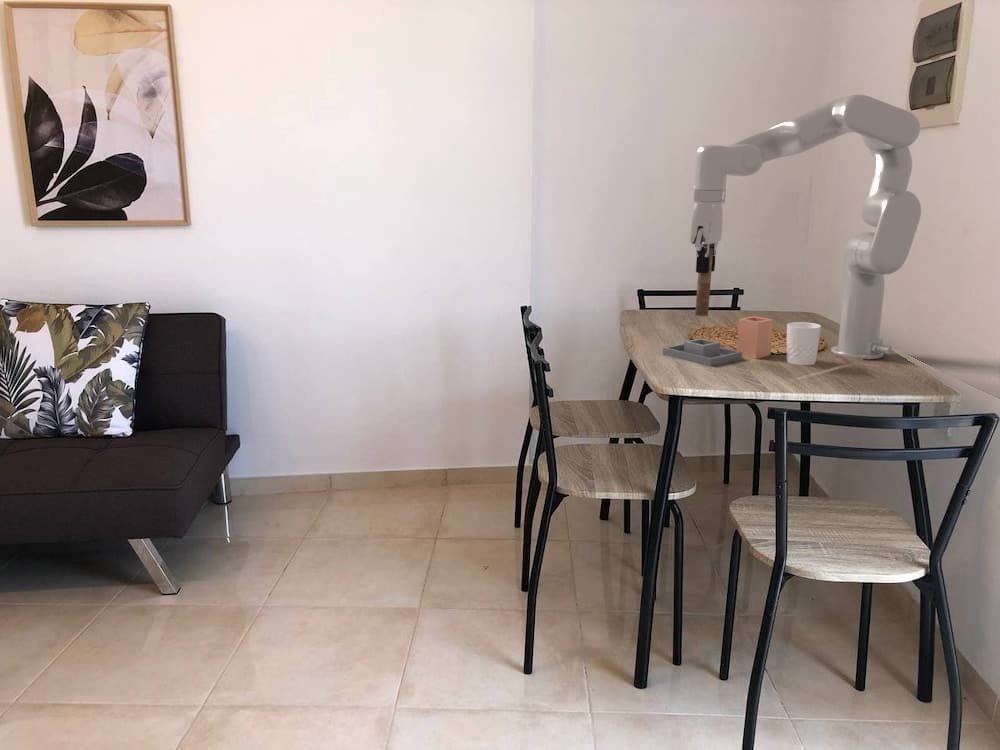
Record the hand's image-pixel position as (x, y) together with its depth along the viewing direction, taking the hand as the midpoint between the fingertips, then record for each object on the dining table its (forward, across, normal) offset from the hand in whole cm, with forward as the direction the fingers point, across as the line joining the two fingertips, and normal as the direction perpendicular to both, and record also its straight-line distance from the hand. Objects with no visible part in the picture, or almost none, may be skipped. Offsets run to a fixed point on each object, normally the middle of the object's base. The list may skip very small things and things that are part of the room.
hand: (705, 271), depth 198 cm
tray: (+23, 0, 0) cm, 23 cm away
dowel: (+11, 0, 0) cm, 11 cm away
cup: (+23, -9, +11) cm, 27 cm away
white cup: (+23, -8, +23) cm, 34 cm away
